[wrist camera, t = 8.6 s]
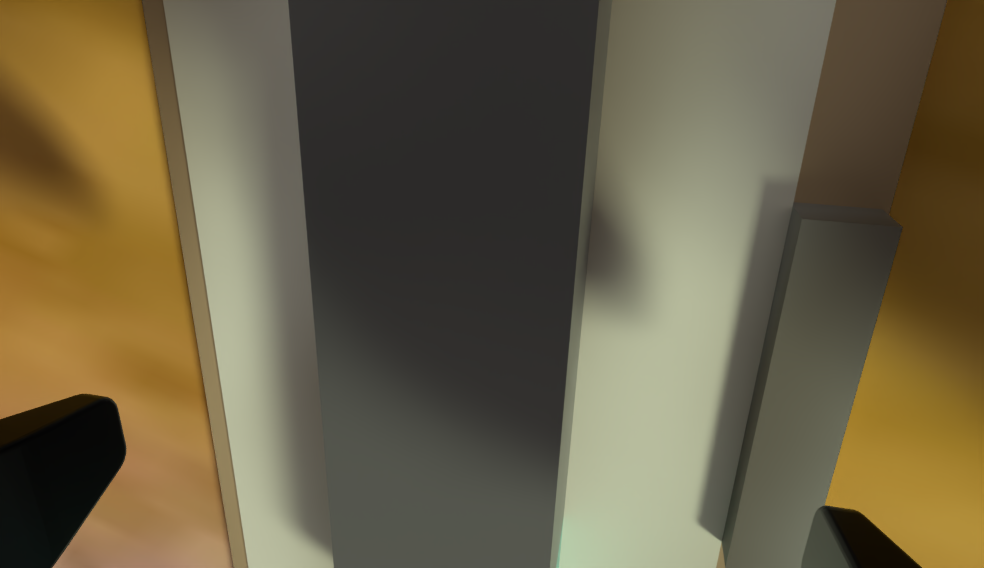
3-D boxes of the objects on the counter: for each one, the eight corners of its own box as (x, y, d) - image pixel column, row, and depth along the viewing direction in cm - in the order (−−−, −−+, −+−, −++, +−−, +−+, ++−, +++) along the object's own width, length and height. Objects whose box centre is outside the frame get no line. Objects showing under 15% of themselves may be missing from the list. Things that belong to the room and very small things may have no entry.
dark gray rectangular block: (616, -42, 9) (603, -57, 6) (552, 635, 13) (529, 798, 11) (388, -47, 9) (282, -64, 6) (406, 606, 14) (348, 754, 11)
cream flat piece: (1030, -393, 7) (1113, -475, 6) (731, 755, 15) (739, 826, 14) (116, -340, 9) (32, -393, 8) (264, 654, 17) (233, 709, 15)
